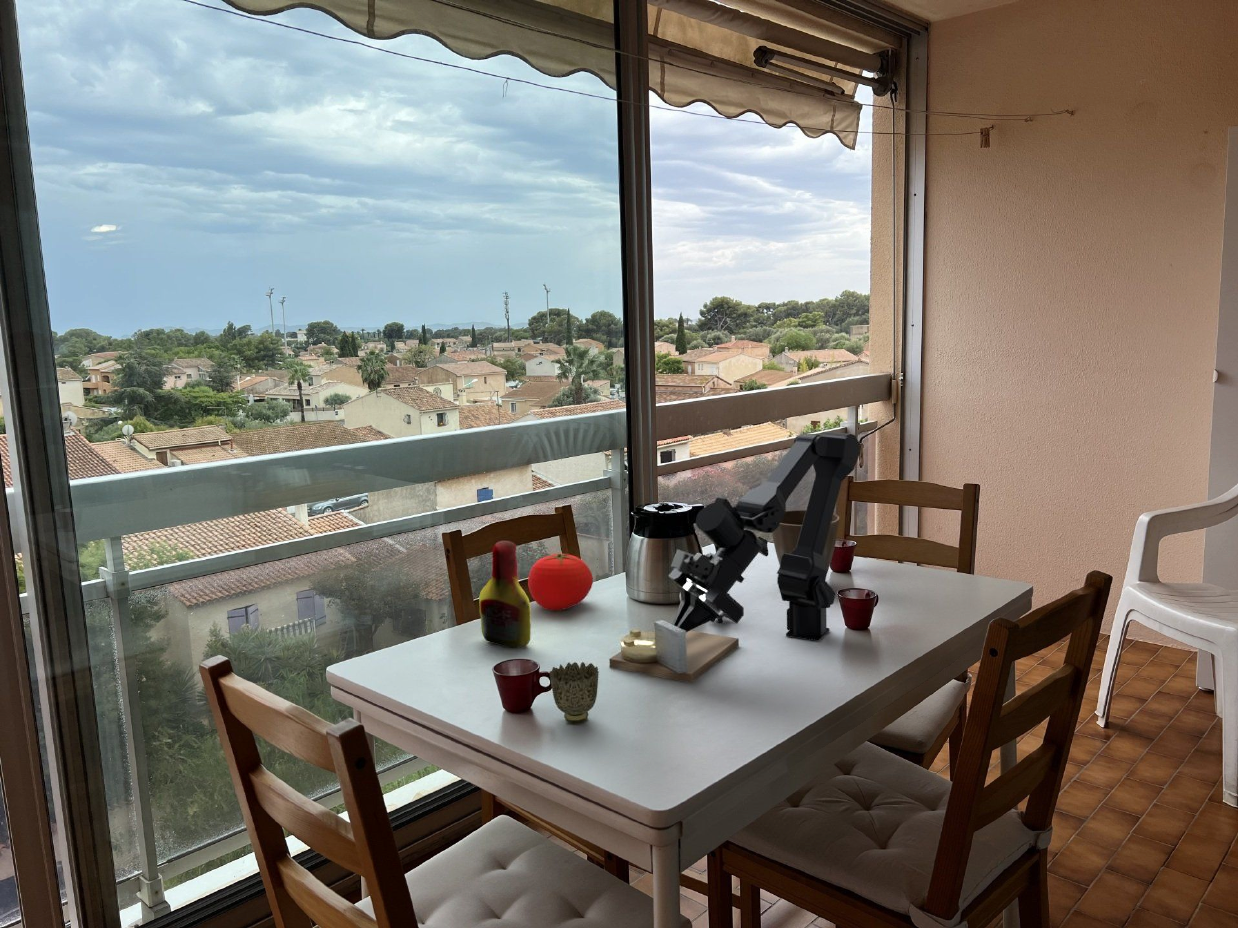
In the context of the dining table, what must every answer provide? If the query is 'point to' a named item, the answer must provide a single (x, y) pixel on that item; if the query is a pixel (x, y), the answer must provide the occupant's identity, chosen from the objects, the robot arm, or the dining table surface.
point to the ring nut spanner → (657, 646)
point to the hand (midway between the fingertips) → (674, 632)
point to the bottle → (505, 601)
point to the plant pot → (790, 532)
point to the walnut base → (700, 657)
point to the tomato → (559, 581)
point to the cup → (575, 690)
